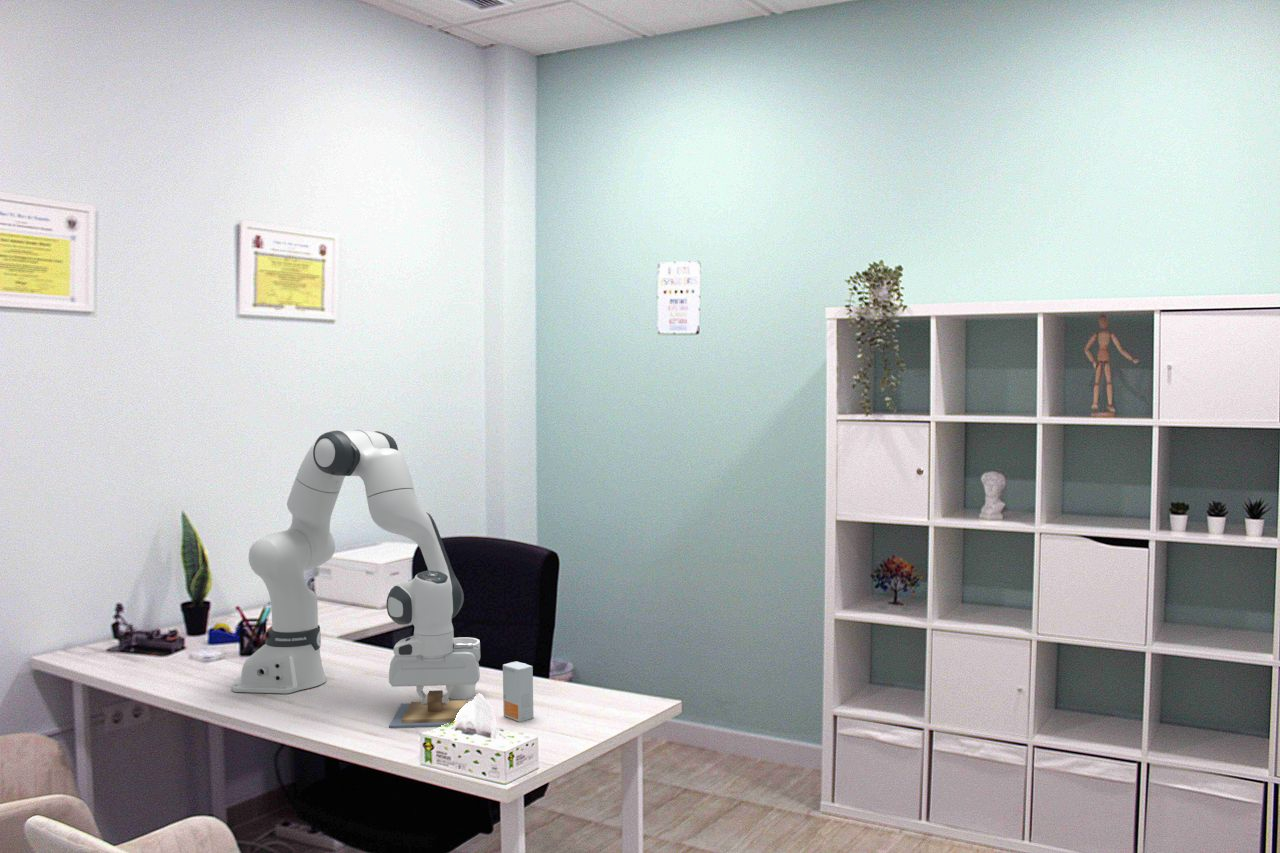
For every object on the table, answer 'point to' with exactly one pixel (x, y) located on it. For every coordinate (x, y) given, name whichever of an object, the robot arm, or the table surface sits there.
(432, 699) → the oak lid
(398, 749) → the table surface
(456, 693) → the foam cup
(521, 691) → the skincare box
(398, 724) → the slate mat
